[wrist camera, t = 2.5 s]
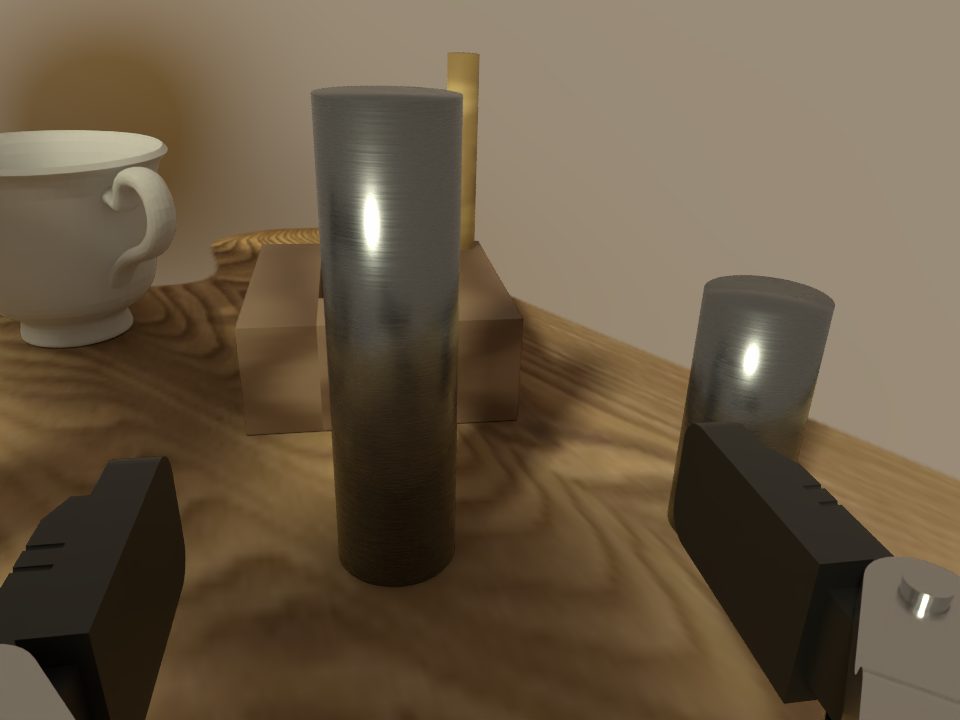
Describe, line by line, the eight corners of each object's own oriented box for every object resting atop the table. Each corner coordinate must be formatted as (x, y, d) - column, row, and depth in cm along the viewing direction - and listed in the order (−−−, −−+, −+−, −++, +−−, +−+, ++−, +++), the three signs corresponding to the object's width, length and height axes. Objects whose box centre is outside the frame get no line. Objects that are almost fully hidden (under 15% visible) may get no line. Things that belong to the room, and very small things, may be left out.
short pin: (664, 544, 27) (703, 308, 23) (670, 483, 30) (704, 270, 27) (783, 567, 26) (844, 325, 22) (774, 501, 30) (825, 282, 26)
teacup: (82, 413, 34) (34, 191, 30) (-95, 340, 41) (-156, 150, 36) (272, 327, 44) (255, 150, 40) (104, 280, 50) (74, 123, 46)
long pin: (318, 572, 25) (282, 96, 19) (366, 503, 29) (349, 83, 22) (433, 597, 24) (435, 105, 18) (468, 523, 28) (480, 90, 21)
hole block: (246, 435, 33) (204, 65, 27) (269, 328, 44) (243, 47, 37) (517, 419, 35) (537, 71, 28) (475, 321, 46) (483, 53, 39)
